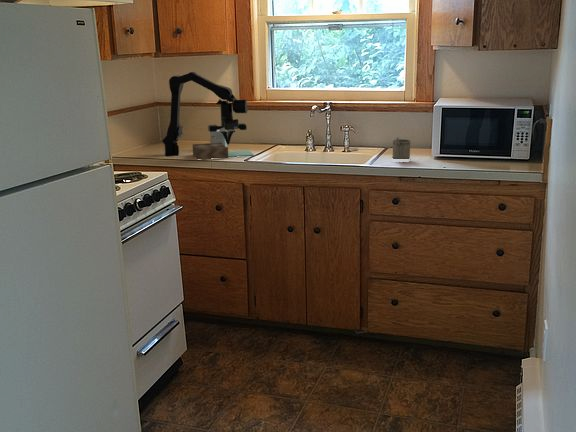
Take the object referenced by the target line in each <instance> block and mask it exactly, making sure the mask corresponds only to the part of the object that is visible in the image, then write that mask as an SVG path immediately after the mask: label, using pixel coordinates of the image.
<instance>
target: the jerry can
mask: <svg viewBox="0 0 576 432" xmlns="http://www.w3.org/2000/svg"><path fill="white" fill-rule="evenodd" d="M411 142H412V140H409V139H403V138H402V139H401V138H400V137H395V139H393V140H392V157H391V159H392V158H393V159H409V158H410V159H411V157H410V156H411Z"/></svg>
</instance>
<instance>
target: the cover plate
mask: <svg viewBox="0 0 576 432" xmlns="http://www.w3.org/2000/svg"><path fill="white" fill-rule="evenodd" d="M237 156H254V157H255V154H254V153H252V152H251V151H250V150H249V149H248V150H247V149H246V150H232V151H229V150H228V157H237ZM237 158H238V157H237Z"/></svg>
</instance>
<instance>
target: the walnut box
mask: <svg viewBox="0 0 576 432" xmlns="http://www.w3.org/2000/svg"><path fill="white" fill-rule="evenodd" d="M228 151H229V147H228V146H227V147H226V146H224V145H223V144H222V143H211V142H210V143H209V142H208V143H194V144H192V155H193V157H194V158H195V157H196V158H197V159H211V158H228ZM196 158H195V159H196ZM197 159H196V160H197ZM228 159H229V158H228Z"/></svg>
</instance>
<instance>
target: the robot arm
mask: <svg viewBox="0 0 576 432" xmlns="http://www.w3.org/2000/svg"><path fill="white" fill-rule="evenodd" d="M188 82H194V83H195V84H197V85H199V86H200V87H203V88H205V89H207V90H208V91H211V92H212V93H214V95H216V96H217V97H218V98H219V99H218V101H217V102H216V104H215V105H220V106H219V107H220V125H217V124H208V125H207V131H208V132H209V133H210V132H216V131H217V130H219V132H221V133H222V134H223V136H224V138H225V141H226V143H227V146H228V145H230V141H231V138H232V136H233V133H236V129H238V130H240V131H247V129H248V128H247V124H246V123H244V122H240V123H239V120H238V118H236V119H233V118H234V117H233V112H234V113H235V114H247V113H248V103H247V99H246V98H243V99H237V97H235V95H234V94H233V90H232V88H230V87H228V86H225V85H222V84H217V83H215V82H213V81H212V80H209V79H207V78H205V77H204V76H202V75H200V74H198V73H196V72H195V71H191V72H188V73H186V74H183V75H179V74H178V75H172V76H171V77H170V78H169V80H168V86H169V91H170V93H171V96H170V97H171V99H170V120H169V125H168V127H167V131H166V135H165V137H164V138H163V139H162V143H163V145H164V156H166V157H173V156H174V155H175V156H179V154H180V148H179V147H180V146H179V145H178V141H179V139H180V138H181V137H182V135H184V134H183V128H184V127H183V125H181V124H180V111H181V110H180V108H181V94H182V92H183V89H184V84H186V83H188Z"/></svg>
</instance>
